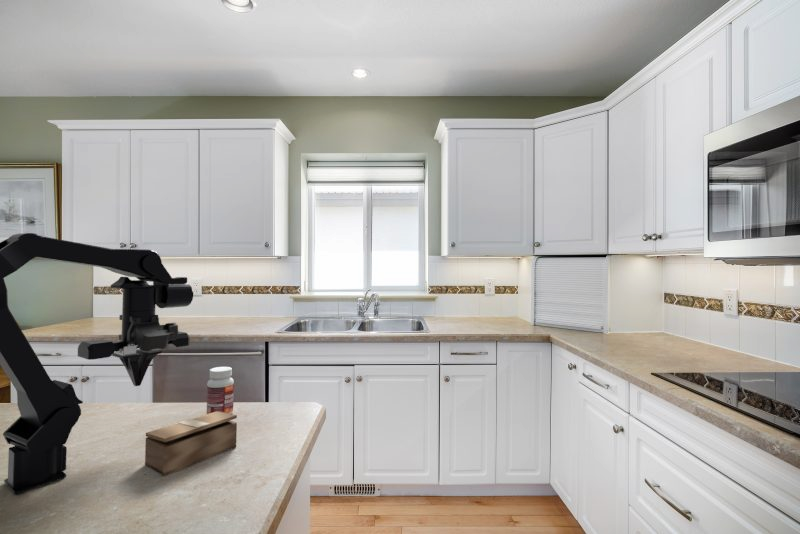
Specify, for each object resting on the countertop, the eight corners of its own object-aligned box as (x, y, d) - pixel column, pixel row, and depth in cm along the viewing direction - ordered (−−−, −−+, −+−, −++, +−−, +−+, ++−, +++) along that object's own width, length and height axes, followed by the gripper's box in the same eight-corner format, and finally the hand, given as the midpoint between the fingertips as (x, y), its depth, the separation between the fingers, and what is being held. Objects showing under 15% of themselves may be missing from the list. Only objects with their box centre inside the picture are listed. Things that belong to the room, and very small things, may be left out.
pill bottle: (229, 418, 96) (230, 371, 96) (202, 418, 95) (203, 372, 95) (236, 409, 102) (237, 365, 102) (211, 410, 101) (212, 366, 101)
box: (164, 476, 68) (165, 447, 68) (144, 465, 72) (145, 437, 72) (236, 447, 80) (236, 422, 80) (216, 438, 84) (216, 415, 84)
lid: (165, 442, 68) (165, 438, 68) (145, 436, 72) (145, 432, 72) (236, 418, 80) (236, 414, 80) (216, 414, 84) (216, 410, 84)
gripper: (102, 316, 69) (99, 405, 69) (204, 309, 85) (202, 382, 84) (77, 312, 75) (75, 394, 75) (177, 306, 91) (175, 374, 90)
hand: (137, 385), depth 81 cm, fingers closed
